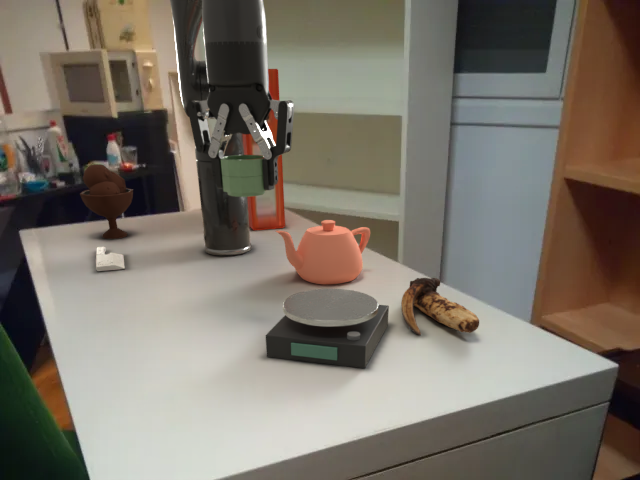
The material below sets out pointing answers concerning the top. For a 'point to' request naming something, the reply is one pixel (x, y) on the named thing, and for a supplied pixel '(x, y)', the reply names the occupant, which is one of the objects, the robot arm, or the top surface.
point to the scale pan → (330, 307)
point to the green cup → (242, 175)
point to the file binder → (270, 205)
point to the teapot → (327, 253)
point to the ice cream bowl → (106, 197)
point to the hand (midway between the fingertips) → (245, 188)
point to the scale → (327, 341)
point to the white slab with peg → (108, 260)
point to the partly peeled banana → (435, 307)
